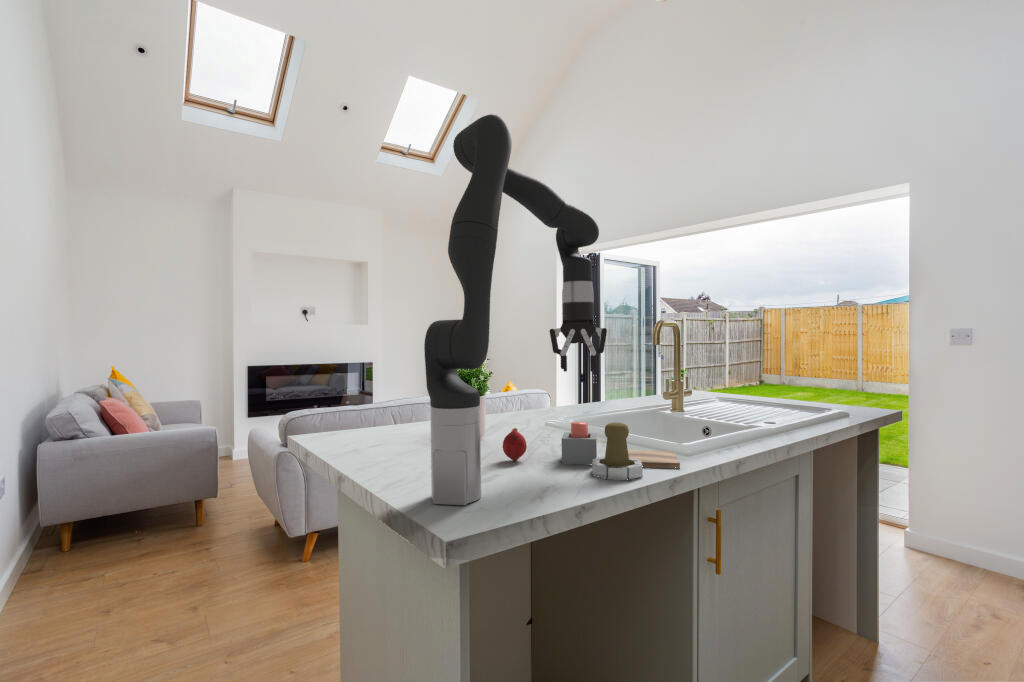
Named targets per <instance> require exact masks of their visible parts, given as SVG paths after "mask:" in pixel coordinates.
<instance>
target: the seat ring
mask: <svg viewBox="0 0 1024 682" xmlns="http://www.w3.org/2000/svg"><path fill="white" fill-rule="evenodd" d="M604 461H605V455H604V456H600V457H597V458H594V459H593V461H592V465H591V466H592V467H591V468H592V472H591V473H592V474H593V475H595V476H594V477H597V476H599V477H598V478H600V477H602V478H601V479H603V478H605V479H604V480H608V479H612V480H611V481H631V480H630V479H633V480H636V479H635V478H637V479H639V478H638V477H641V478H643V477H642V476H644V475H643V472H644V471H643V467H642V462H641V461H640V460H638V459H634V458H630V457H629V463H630V466H625V467H624V466H608V465H604ZM593 475H592V476H593ZM613 479H615V480H613ZM627 479H629V480H627Z"/></svg>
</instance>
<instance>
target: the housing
mask: <svg viewBox="0 0 1024 682" xmlns="http://www.w3.org/2000/svg"><path fill="white" fill-rule="evenodd" d="M597 435H598V434H597V432H588V438H571V431H568V432H565V431H564V432H563V434H562V437H561V465H574V464H592V461H593V459H594V458H598V456H597V455H598V452H597V451H598V449H597V443H598V441H597V439H598V437H597Z"/></svg>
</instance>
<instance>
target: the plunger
mask: <svg viewBox="0 0 1024 682" xmlns="http://www.w3.org/2000/svg"><path fill="white" fill-rule="evenodd" d="M570 432H571V438H588V433H589V423H588V422H585V421H572V422H570Z"/></svg>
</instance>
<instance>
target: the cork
mask: <svg viewBox="0 0 1024 682" xmlns="http://www.w3.org/2000/svg"><path fill="white" fill-rule="evenodd" d="M629 434H630V429H629V427H628V425H627V424H626V423H623V422H617V421H615V422H609V423H607V424H606V425H605V426H604V436H605V437H606V438H607V439H606V445H605V446H606V447H605V454H604V456H605V461H604V465H608V466H624V467H625V466H630V463H629V455H628V450H629V448H628V442H627V439H628V437H629Z"/></svg>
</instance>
